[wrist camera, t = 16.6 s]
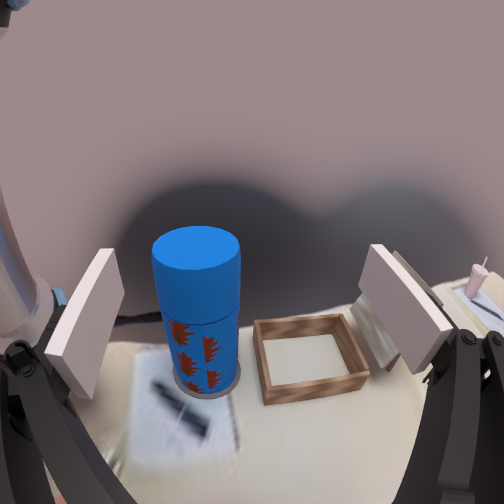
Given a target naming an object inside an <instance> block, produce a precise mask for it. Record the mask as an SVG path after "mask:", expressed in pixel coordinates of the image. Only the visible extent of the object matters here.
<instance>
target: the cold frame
mask: <svg viewBox="0 0 504 504" xmlns="http://www.w3.org/2000/svg"><path fill="white" fill-rule="evenodd" d="M392 256H393V257H394V258H395V259H396V260H397V261H398V262H399V263H400V264H401V266H402V267H403V268H404V269H405V270H406V271H407V272H408V273H409V275H410V276H411V277H412V278H413V279H414V280H415V281H416V283H417V284H418V285H419V286H420V287H421V288H422V290H423V291H424V290H425V291H426V292H427V293H429V294H430V295H431V296H433V297H434V299H435V300H436V301H437V302H438V305H440V306H441V307H442V306H443V305H444V304H443V303H442V301H441V300H440V299H439V298H438V297H437V296H436V294H435V293H434V292H433V291H432V290H431V289H430V287H429V286H428V285H427V284H426V283H425V282H424V281H423V280H422V279H421V277H420V276H419V275H418V274H417V273H416V272H415V271H414V270H413V269H412V267H411V266H410V265H409V264H408V263H407V262H406V261H405V260H404V259H403V258H402V257H401V256H400V255H399V254H398V253H397V252H396V251H394V253H393V254H392ZM349 310H350V311H351V313H352V315H353V317H354V319H355V321H356V322H357V324H358V326H359V328H360V330H361V332H362V334H363V335H364V337H365V339H366V341H367V343H368V345H369V347H370V349H371V351H372V353H373V355H374V356H375V358H376V360H377V362H378V364H379V366H380V368H381V369H383V368H384V367H385V366H386V365H388V364H389V363H390V364H389V365H388V367H387V368H386V370H387V371H388V372H390V371H391V369H392V368H393V366H394V365H395V363H396V362H397V360H398V358H399V357H400V355H401V354H400V352H399V351H398V349H397V347H396V345H395V344H394V342H393V340H392V339H391V337H390V335H389V334H388V332H387V330H386V329H385V327H384V325H383V324H382V322H381V321H380V319H379V317H378V316H377V314H376V313H375V311H374V309H373V308H372V306H371V305H370V303H369V302H368V300H367V298H366V297H365V295H364V294H363V293H362V294H361V296H360V297H359V298H358V299H357V301H356V302H355V303H354V304H353V305H352V306H351V308H350V309H349ZM331 333H333V336H334V338H335V340H336V343H337V345H338V347H339V349H340V352H341V354H342V356H343V359H344V361H345V363H346V366H347V368H348V370H349V373H350V374H349V375H344V376H339V377H334V378H328V379H322V380H316V381H309V382H302V383H294V384H286V385H277V386H272V385H271V380H270V375H269V370H268V365H267V360H266V355H265V350H264V345H263V340H270V339H283V338H294V337H305V336H314V335H323V334H331ZM253 342H254V348H255V354H256V360H257V365H258V371H259V377H260V383H261V389H262V394H263V400H264V405H272V404H281V403H289V402H296V401H303V400H309V399H315V398H321V397H327V396H332V395H337V394H342V393H346V392H351V391H355V390H360V389H361V388H362V386H363V385H364V383H365V382H366V380H367V378H368V377H369V375H370V372H369V369H370V368H369V366H368V364H367V361H366V359H365V357H364V355H363V353H362V351H361V349H360V347H359V345H358V343H357V341H356V339H355V337H354V335H353V333H352V331H351V329H350V327H349V325H348V323H347V321H346V319H345V317H344V315H343V314H341V313H339V314H329V315H319V316H308V317H295V318H281V319H265V320H254V329H253Z"/></svg>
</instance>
